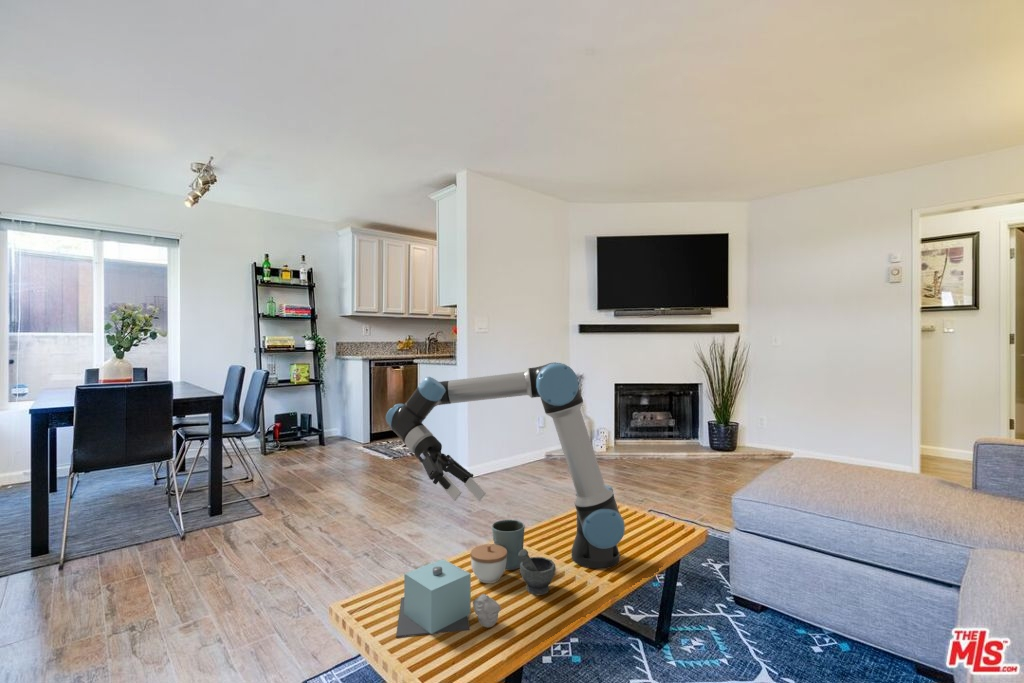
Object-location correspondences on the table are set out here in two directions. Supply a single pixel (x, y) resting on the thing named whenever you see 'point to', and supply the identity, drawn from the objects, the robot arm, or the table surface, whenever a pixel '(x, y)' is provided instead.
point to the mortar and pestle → (536, 572)
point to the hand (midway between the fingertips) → (471, 496)
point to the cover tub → (437, 595)
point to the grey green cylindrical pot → (509, 540)
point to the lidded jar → (488, 562)
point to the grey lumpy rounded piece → (486, 610)
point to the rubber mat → (413, 629)
